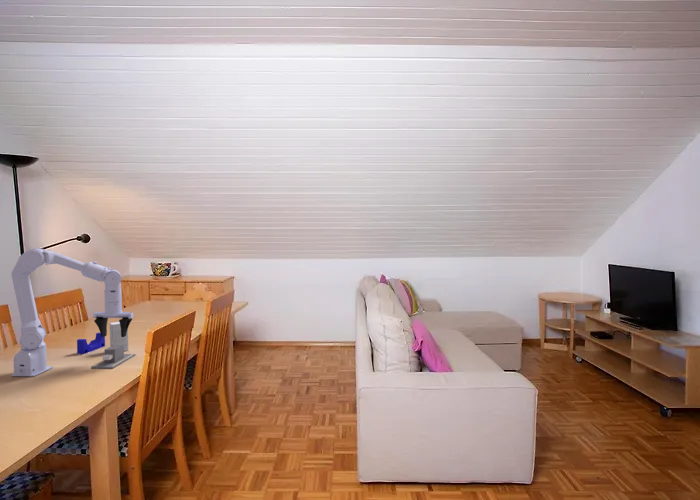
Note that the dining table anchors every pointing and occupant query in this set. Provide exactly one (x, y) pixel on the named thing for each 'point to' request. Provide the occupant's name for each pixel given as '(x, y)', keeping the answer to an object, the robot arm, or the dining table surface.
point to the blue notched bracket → (90, 344)
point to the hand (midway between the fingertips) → (113, 336)
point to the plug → (113, 353)
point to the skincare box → (118, 336)
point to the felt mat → (112, 365)
